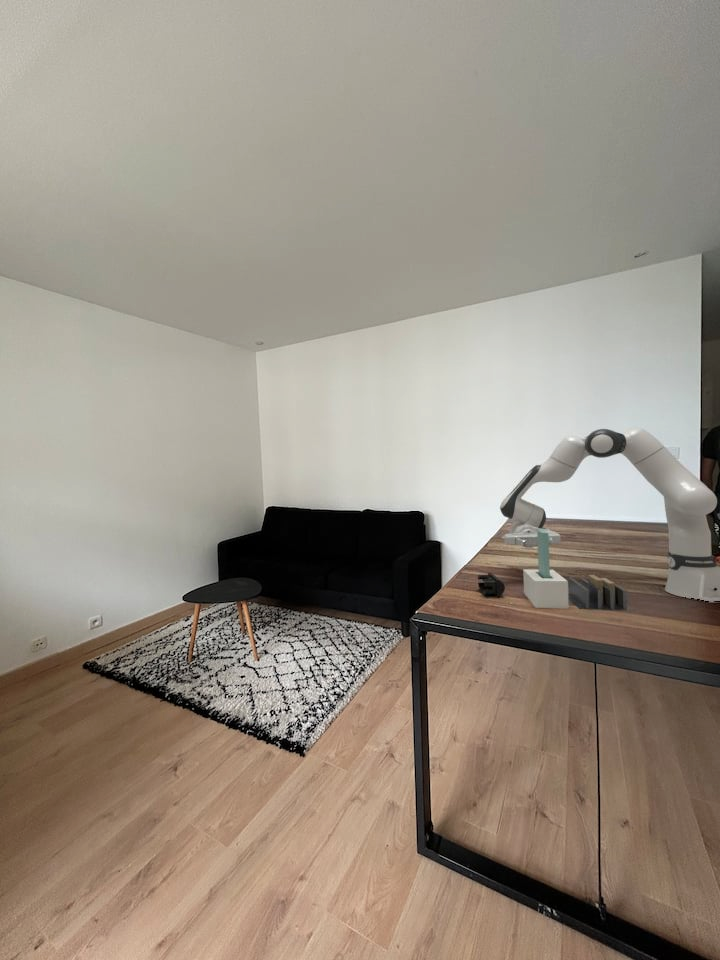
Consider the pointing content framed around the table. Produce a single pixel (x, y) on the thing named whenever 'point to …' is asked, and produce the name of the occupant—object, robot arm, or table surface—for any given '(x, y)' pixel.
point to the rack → (596, 596)
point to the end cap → (490, 585)
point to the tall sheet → (543, 554)
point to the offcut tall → (597, 584)
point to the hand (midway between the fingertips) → (537, 542)
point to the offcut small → (609, 585)
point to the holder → (546, 589)
